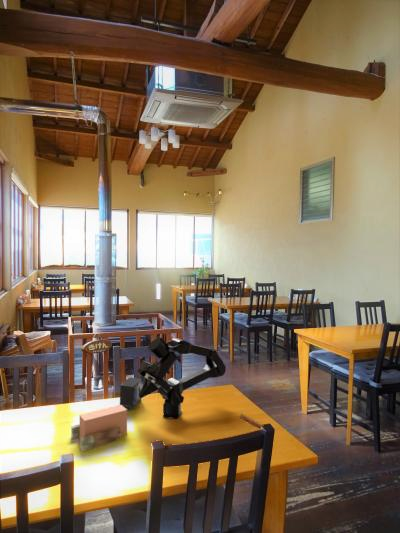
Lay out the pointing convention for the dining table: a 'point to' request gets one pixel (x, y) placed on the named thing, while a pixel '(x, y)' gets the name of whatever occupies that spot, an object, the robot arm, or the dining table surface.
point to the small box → (130, 393)
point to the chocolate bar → (250, 421)
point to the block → (103, 421)
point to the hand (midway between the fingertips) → (140, 397)
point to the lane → (95, 437)
